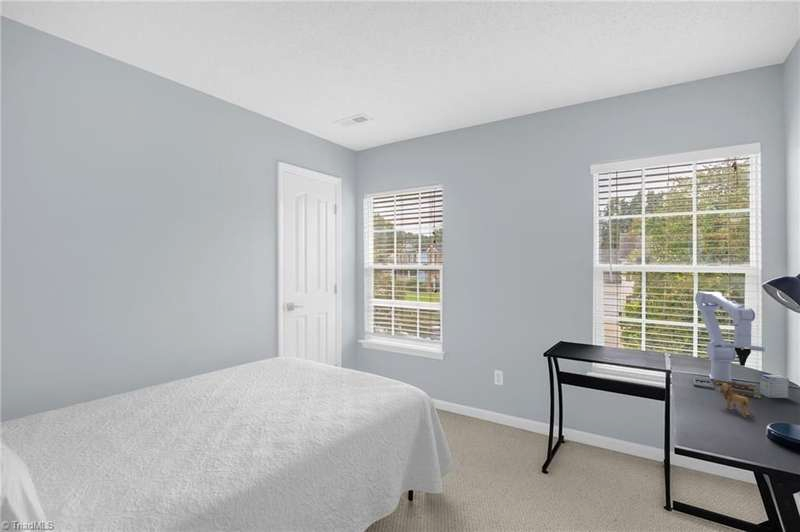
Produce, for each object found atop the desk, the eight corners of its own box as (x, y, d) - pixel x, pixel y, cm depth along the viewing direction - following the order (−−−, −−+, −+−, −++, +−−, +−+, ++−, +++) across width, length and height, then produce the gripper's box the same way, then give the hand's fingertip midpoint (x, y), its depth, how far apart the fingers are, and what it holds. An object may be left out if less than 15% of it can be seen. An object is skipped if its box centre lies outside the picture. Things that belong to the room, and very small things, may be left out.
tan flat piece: (714, 383, 181) (714, 377, 181) (754, 389, 173) (754, 384, 173) (717, 390, 169) (717, 385, 169) (760, 398, 161) (760, 392, 161)
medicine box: (778, 395, 166) (779, 375, 166) (788, 398, 162) (789, 378, 162) (759, 394, 166) (760, 374, 166) (769, 397, 162) (769, 377, 162)
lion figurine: (713, 404, 152) (714, 381, 152) (727, 404, 152) (727, 382, 152) (748, 419, 137) (749, 394, 137) (763, 420, 137) (764, 395, 137)
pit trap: (692, 380, 184) (693, 378, 184) (711, 383, 180) (711, 381, 180) (693, 386, 175) (694, 384, 175) (713, 389, 171) (713, 387, 171)
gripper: (722, 334, 175) (722, 364, 175) (766, 338, 167) (766, 369, 166) (721, 332, 181) (720, 361, 180) (763, 336, 172) (763, 366, 172)
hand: (742, 365), depth 174 cm, fingers closed
